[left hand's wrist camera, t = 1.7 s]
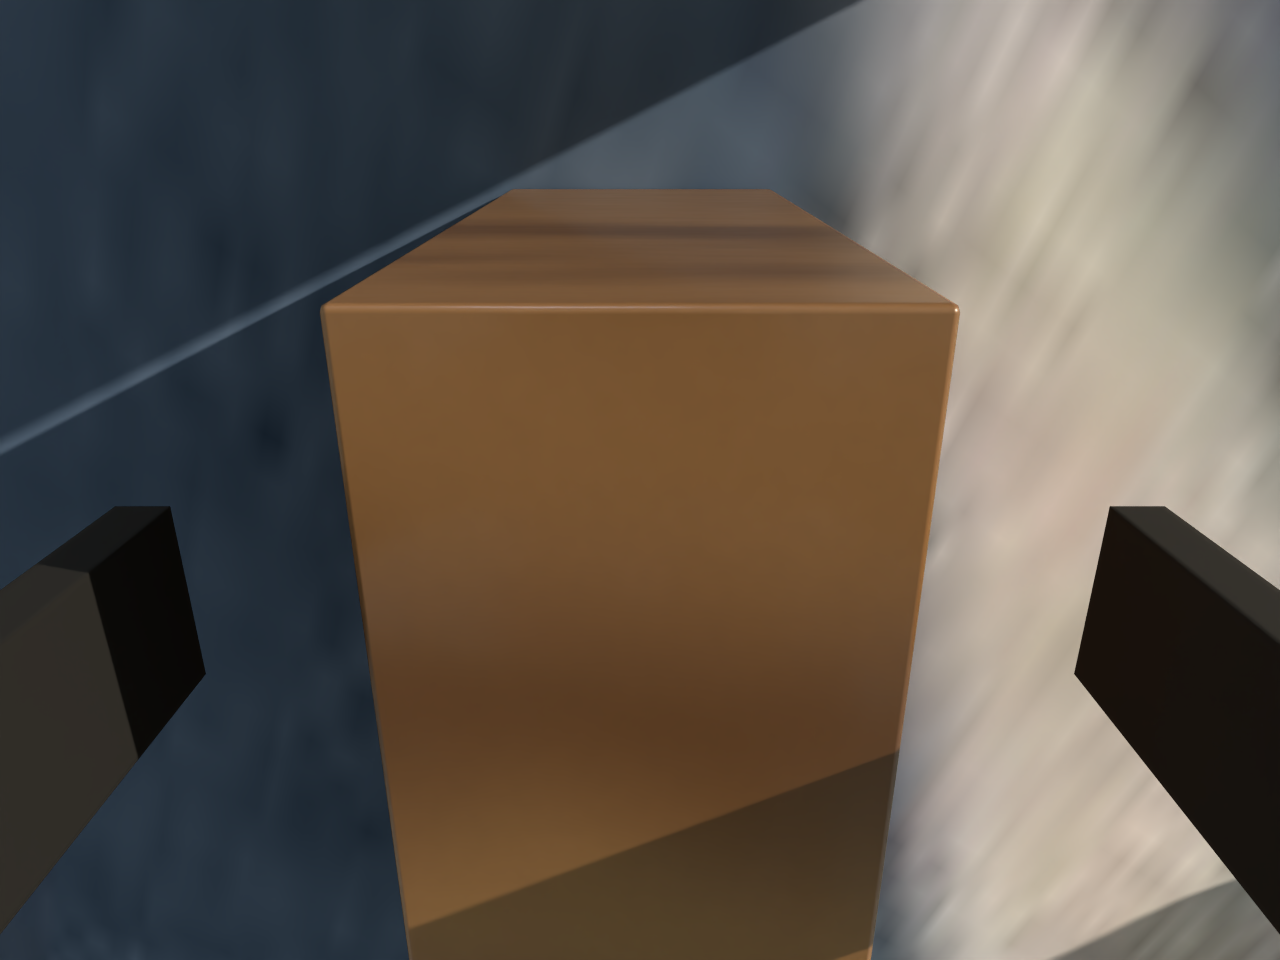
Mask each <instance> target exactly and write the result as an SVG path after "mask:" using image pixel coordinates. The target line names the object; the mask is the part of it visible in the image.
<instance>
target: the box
mask: <svg viewBox="0 0 1280 960" xmlns="http://www.w3.org/2000/svg"><path fill="white" fill-rule="evenodd" d="M959 316H960V311H959V307H958V305H956V304H955V303H953V302H952V301H950V300H948V299H947V298H945V297H943V296H942V295H940V294H939V293H937V292H935V291H934V290H932V289H930V288H929V287H927V286H926V285H924V284H922V283H921V282H919V281H917V280H916V279H914V278H913V277H911V276H909V275H908V274H906V273H905V272H903V271H901V270H900V269H898V268H896V267H895V266H893V265H892V264H890V263H888V262H887V261H885V260H883V259H882V258H880V257H879V256H877V255H875V254H874V253H872V252H871V251H869V250H867V249H866V248H864V247H862V246H861V245H859V244H858V243H856V242H854V241H853V240H851V239H849V238H848V237H846V236H845V235H843V234H841V233H840V232H838V231H836V230H835V229H833V228H832V227H830V226H828V225H827V224H825V223H824V222H822V221H820V220H819V219H817V218H815V217H814V216H812V215H811V214H809V213H807V212H806V211H804V210H802V209H801V208H799V207H798V206H796V205H794V204H793V203H791V202H789V201H788V200H786V199H785V198H783V197H781V196H780V195H778V194H777V193H775V192H773V191H772V190H769V189H513V190H510V191H509V192H507V193H505V194H504V195H502V196H500V197H499V198H497V199H496V200H494V201H492V202H491V203H489V204H487V205H486V206H484V207H482V208H481V209H479V210H477V211H476V212H474V213H473V214H471V215H469V216H468V217H466V218H464V219H463V220H461V221H459V222H458V223H456V224H454V225H453V226H451V227H450V228H448V229H446V230H445V231H443V232H441V233H440V234H438V235H436V236H435V237H433V238H431V239H430V240H428V241H427V242H425V243H423V244H422V245H420V246H418V247H417V248H415V249H413V250H412V251H410V252H408V253H407V254H405V255H404V256H402V257H400V258H399V259H397V260H395V261H394V262H392V263H390V264H389V265H387V266H385V267H384V268H382V269H381V270H379V271H377V272H376V273H374V274H372V275H371V276H369V277H367V278H366V279H364V280H362V281H361V282H359V283H358V284H356V285H354V286H353V287H351V288H349V289H348V290H346V291H344V292H343V293H341V294H339V295H338V296H336V297H335V298H333V299H331V300H330V301H328V302H326V303H325V304H323V305H322V306H321V310H320V317H321V324H322V332H323V339H324V346H325V353H326V361H327V368H328V375H329V382H330V390H331V397H332V404H333V411H334V419H335V426H336V433H337V440H338V448H339V455H340V462H341V469H342V476H343V484H344V491H345V498H346V505H347V513H348V520H349V527H350V534H351V542H352V549H353V556H354V563H355V571H356V578H357V585H358V592H359V600H360V607H361V614H362V621H363V629H364V636H365V643H366V650H367V657H368V665H369V672H370V679H371V686H372V694H373V701H374V708H375V715H376V723H377V730H378V737H379V744H380V752H381V759H382V766H383V773H384V781H385V788H386V795H387V802H388V809H389V817H390V824H391V831H392V838H393V846H394V853H395V860H396V867H397V875H398V882H399V889H400V896H401V904H402V911H403V918H404V925H405V933H406V940H407V947H408V954H409V960H871V953H872V946H873V939H874V932H875V924H876V917H877V910H878V903H879V895H880V888H881V881H882V874H883V866H884V859H885V852H886V845H887V838H888V830H889V823H890V816H891V809H892V801H893V794H894V787H895V780H896V772H897V765H898V758H899V751H900V743H901V736H902V729H903V722H904V714H905V707H906V700H907V693H908V685H909V678H910V671H911V664H912V656H913V649H914V642H915V635H916V627H917V620H918V613H919V606H920V598H921V591H922V584H923V577H924V569H925V562H926V555H927V548H928V540H929V533H930V526H931V519H932V512H933V504H934V497H935V490H936V483H937V475H938V468H939V461H940V454H941V446H942V439H943V432H944V425H945V417H946V410H947V403H948V396H949V388H950V381H951V374H952V367H953V359H954V352H955V345H956V338H957V330H958V323H959Z"/></svg>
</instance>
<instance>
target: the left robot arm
mask: <svg viewBox="0 0 1280 960" xmlns="http://www.w3.org/2000/svg"><path fill="white" fill-rule="evenodd" d="M205 674H206V673H205V668H204V663H203V659H202V654H201V649H200V645H199V640H198V635H197V631H196V626H195V621H194V616H193V612H192V607H191V602H190V598H189V593H188V588H187V584H186V579H185V574H184V570H183V565H182V560H181V555H180V551H179V546H178V541H177V537H176V532H175V527H174V523H173V518H172V513H171V509H170V506H115V507H114V508H112V509H111V510H110V511H108V512H107V513H106V514H104V515H103V516H101V517H100V518H99V519H97V520H96V521H95V522H93V523H92V524H90V525H89V526H88V527H86V528H85V529H84V530H82V531H81V532H80V533H78V534H77V535H75V536H74V537H73V538H71V539H70V540H69V541H67V542H66V543H64V544H63V545H62V546H60V547H59V548H58V549H56V550H55V551H53V552H52V553H51V554H49V555H48V556H47V557H45V558H44V559H42V560H41V561H40V562H38V563H37V564H36V565H34V566H33V567H32V568H30V569H29V570H27V571H26V572H25V573H23V574H22V575H21V576H19V577H18V578H16V579H15V580H14V581H12V582H11V583H10V584H8V585H7V586H5V587H4V588H3V589H1V590H0V934H1V933H2V931H3V930H4V929H5V928H6V926H7V925H8V924H9V922H10V921H11V920H12V919H13V917H14V916H15V915H16V914H17V912H18V911H19V910H20V909H21V907H22V906H23V905H24V903H25V902H26V901H27V900H28V898H29V897H30V896H31V895H32V893H33V892H34V891H35V890H36V888H37V887H38V886H39V884H40V883H41V882H42V881H43V879H44V878H45V877H46V876H47V874H48V873H49V872H50V871H51V869H52V868H53V867H54V865H55V864H56V863H57V862H58V860H59V859H60V858H61V857H62V855H63V854H64V853H65V852H66V850H67V849H68V848H69V846H70V845H71V844H72V843H73V841H74V840H75V839H76V838H77V836H78V835H79V834H80V833H81V831H82V830H83V829H84V827H85V826H86V825H87V824H88V822H89V821H90V820H91V819H92V817H93V816H94V815H95V814H96V812H97V811H98V810H99V808H100V807H101V806H102V805H103V803H104V802H105V801H106V800H107V798H108V797H109V796H110V795H111V793H112V792H113V791H114V789H115V788H116V787H117V786H118V784H119V783H120V782H121V781H122V779H123V778H124V777H125V776H126V774H127V773H128V772H129V770H130V769H131V768H132V767H133V765H134V764H135V763H136V762H137V760H138V759H139V758H140V757H141V755H142V754H143V753H144V751H145V750H146V749H147V748H148V746H149V745H150V744H151V743H152V741H153V740H154V739H155V738H156V736H157V735H158V734H159V732H160V731H161V730H162V729H163V727H164V726H165V725H166V724H167V722H168V721H169V720H170V719H171V717H172V716H173V715H174V713H175V712H176V711H177V710H178V708H179V707H180V706H181V705H182V703H183V702H184V701H185V700H186V698H187V697H188V696H189V694H190V693H191V692H192V691H193V689H194V688H195V687H196V686H197V684H198V683H199V682H200V681H201V679H202V678H203V677H204V675H205ZM1074 674H1075V675H1076V677H1077V678H1078V679H1079V681H1080V682H1081V683H1082V684H1083V686H1084V687H1085V688H1086V689H1087V691H1088V692H1089V693H1090V694H1091V696H1092V697H1093V698H1094V700H1095V701H1096V702H1097V703H1098V705H1099V706H1100V707H1101V708H1102V710H1103V711H1104V712H1105V713H1106V715H1107V716H1108V717H1109V719H1110V720H1111V721H1112V722H1113V724H1114V725H1115V726H1116V727H1117V729H1118V730H1119V731H1120V732H1121V734H1122V735H1123V736H1124V738H1125V739H1126V740H1127V741H1128V743H1129V744H1130V745H1131V746H1132V748H1133V749H1134V750H1135V751H1136V753H1137V754H1138V755H1139V757H1140V758H1141V759H1142V760H1143V762H1144V763H1145V764H1146V765H1147V767H1148V768H1149V769H1150V770H1151V772H1152V773H1153V774H1154V776H1155V777H1156V778H1157V779H1158V781H1159V782H1160V783H1161V784H1162V786H1163V787H1164V788H1165V789H1166V791H1167V792H1168V793H1169V795H1170V796H1171V797H1172V798H1173V800H1174V801H1175V802H1176V803H1177V805H1178V806H1179V807H1180V808H1181V810H1182V811H1183V812H1184V814H1185V815H1186V816H1187V817H1188V819H1189V820H1190V821H1191V822H1192V824H1193V825H1194V826H1195V827H1196V829H1197V830H1198V831H1199V833H1200V834H1201V835H1202V836H1203V838H1204V839H1205V840H1206V841H1207V843H1208V844H1209V845H1210V846H1211V848H1212V849H1213V850H1214V852H1215V853H1216V854H1217V855H1218V857H1219V858H1220V859H1221V860H1222V862H1223V863H1224V864H1225V865H1226V867H1227V868H1228V869H1229V871H1230V872H1231V873H1232V874H1233V876H1234V877H1235V878H1236V879H1237V881H1238V882H1239V883H1240V884H1241V886H1242V887H1243V888H1244V890H1245V891H1246V892H1247V893H1248V895H1249V896H1250V897H1251V898H1252V900H1253V901H1254V902H1255V903H1256V905H1257V906H1258V907H1259V909H1260V910H1261V911H1262V912H1263V914H1264V915H1265V916H1266V917H1267V919H1268V920H1269V921H1270V922H1271V924H1272V925H1273V926H1274V928H1275V929H1276V930H1277V931H1278V933H1279V934H1280V590H1279V589H1277V588H1276V587H1275V586H1273V585H1272V584H1270V583H1269V582H1268V581H1266V580H1265V579H1264V578H1262V577H1261V576H1259V575H1258V574H1257V573H1255V572H1254V571H1253V570H1251V569H1250V568H1248V567H1247V566H1246V565H1244V564H1243V563H1242V562H1240V561H1239V560H1238V559H1236V558H1235V557H1233V556H1232V555H1231V554H1229V553H1228V552H1227V551H1225V550H1224V549H1222V548H1221V547H1220V546H1218V545H1217V544H1216V543H1214V542H1213V541H1211V540H1210V539H1209V538H1207V537H1206V536H1205V535H1203V534H1202V533H1200V532H1199V531H1198V530H1196V529H1195V528H1194V527H1192V526H1191V525H1190V524H1188V523H1187V522H1185V521H1184V520H1183V519H1181V518H1180V517H1179V516H1177V515H1176V514H1174V513H1173V512H1172V511H1170V510H1169V509H1168V508H1166V507H1165V506H1110V509H1109V513H1108V518H1107V523H1106V527H1105V532H1104V537H1103V541H1102V546H1101V551H1100V555H1099V560H1098V565H1097V570H1096V574H1095V579H1094V584H1093V588H1092V593H1091V598H1090V602H1089V607H1088V612H1087V616H1086V621H1085V626H1084V631H1083V635H1082V640H1081V645H1080V649H1079V654H1078V659H1077V663H1076V668H1075V673H1074Z"/></svg>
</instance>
